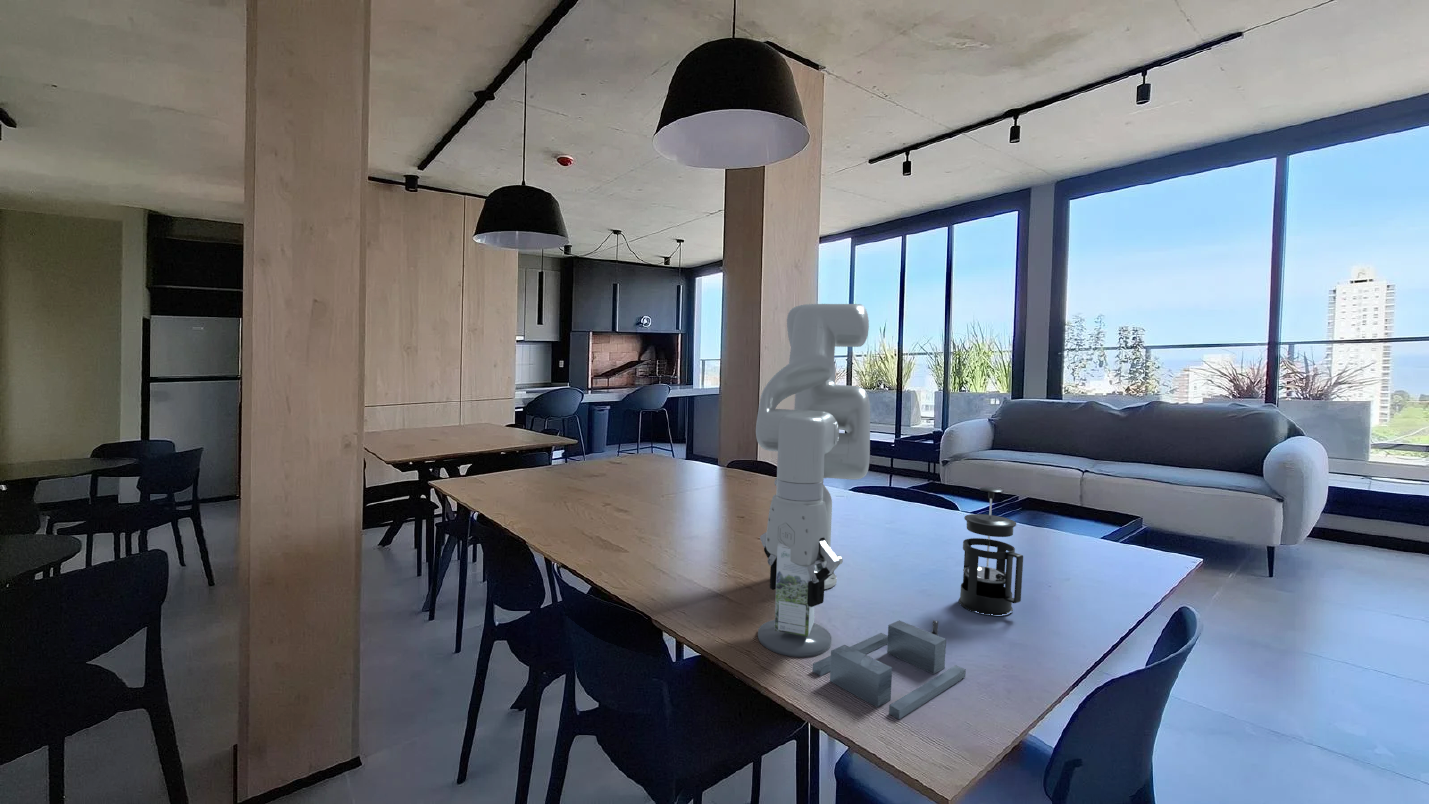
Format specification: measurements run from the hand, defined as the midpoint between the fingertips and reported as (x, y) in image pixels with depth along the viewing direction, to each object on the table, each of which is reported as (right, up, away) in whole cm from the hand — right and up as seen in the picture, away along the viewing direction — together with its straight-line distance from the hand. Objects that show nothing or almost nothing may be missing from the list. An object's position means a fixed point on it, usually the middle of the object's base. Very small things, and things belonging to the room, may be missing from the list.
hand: (795, 595), depth 95 cm
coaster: (0, -7, 0) cm, 7 cm away
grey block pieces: (+14, -8, -9) cm, 18 cm away
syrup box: (0, -6, 0) cm, 6 cm away
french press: (+39, -8, +16) cm, 43 cm away
